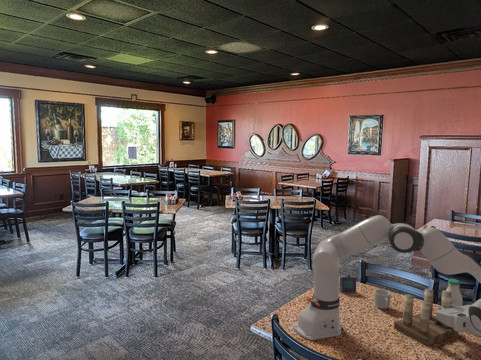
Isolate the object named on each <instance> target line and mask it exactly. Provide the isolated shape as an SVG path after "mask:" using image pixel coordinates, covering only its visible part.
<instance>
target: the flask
mask: <svg viewBox="0 0 481 360" xmlns="http://www.w3.org/2000/svg"><path fill="white" fill-rule="evenodd" d="M352 292H353V293H355V294H356V293H357V276H355V275H350V273H349V272H347V273H346V275H339V293H352Z"/></svg>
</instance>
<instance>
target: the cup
mask: <svg viewBox="0 0 481 360" xmlns="http://www.w3.org/2000/svg"><path fill="white" fill-rule="evenodd" d="M391 300H392V293H391V292H390V291H389V290H387V289H381V288H380V289H379V288H376V289H375V290H374V303H375V307H377V308H378V309H379V310H380V309H381V310H387V309H389V308H390V305H391Z"/></svg>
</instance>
